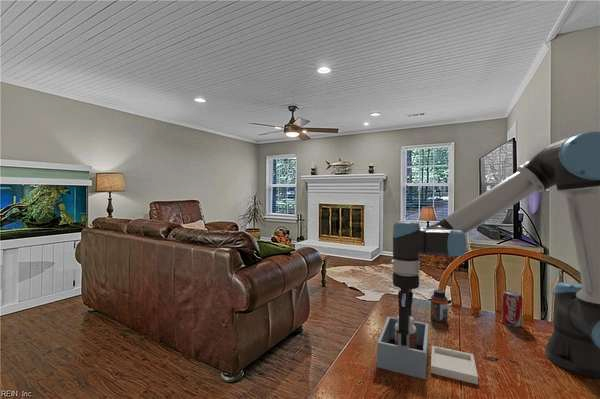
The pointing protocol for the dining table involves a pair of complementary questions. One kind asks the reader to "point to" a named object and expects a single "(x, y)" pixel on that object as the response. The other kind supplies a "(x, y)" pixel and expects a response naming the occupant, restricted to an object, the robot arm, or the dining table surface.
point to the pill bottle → (411, 333)
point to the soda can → (512, 308)
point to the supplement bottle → (439, 306)
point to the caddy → (403, 351)
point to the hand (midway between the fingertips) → (405, 349)
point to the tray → (454, 364)
